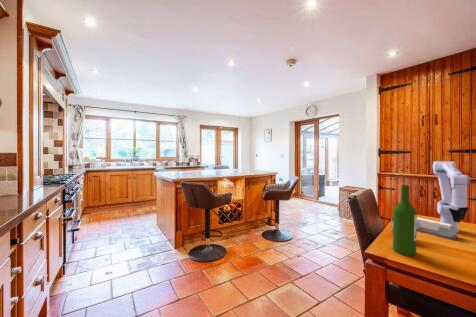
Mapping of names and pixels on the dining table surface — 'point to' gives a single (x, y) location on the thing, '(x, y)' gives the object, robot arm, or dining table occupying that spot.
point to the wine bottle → (404, 225)
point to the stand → (440, 232)
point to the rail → (432, 224)
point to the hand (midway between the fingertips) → (458, 220)
